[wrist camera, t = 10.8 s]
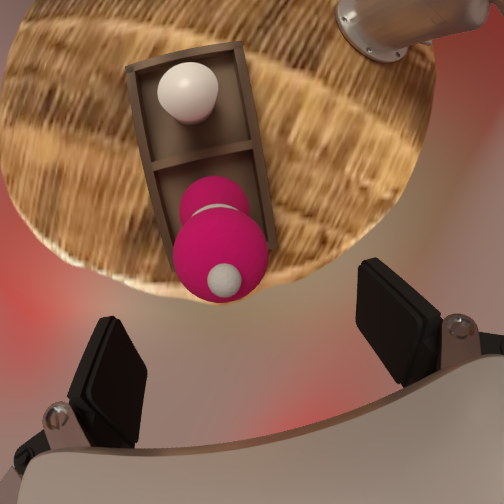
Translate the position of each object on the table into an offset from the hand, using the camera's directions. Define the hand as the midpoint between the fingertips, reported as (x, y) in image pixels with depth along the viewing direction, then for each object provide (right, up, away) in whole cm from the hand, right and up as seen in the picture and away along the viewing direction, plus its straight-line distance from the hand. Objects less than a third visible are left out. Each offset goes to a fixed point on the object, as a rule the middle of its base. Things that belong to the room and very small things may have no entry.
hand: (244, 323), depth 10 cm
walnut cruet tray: (-6, +14, +20) cm, 25 cm away
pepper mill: (-4, +9, +22) cm, 24 cm away
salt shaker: (-6, +19, +17) cm, 26 cm away
